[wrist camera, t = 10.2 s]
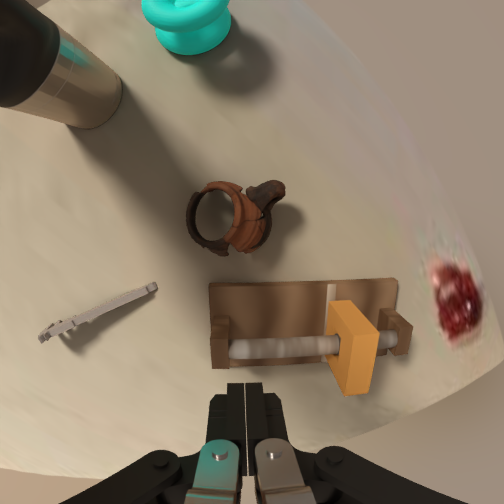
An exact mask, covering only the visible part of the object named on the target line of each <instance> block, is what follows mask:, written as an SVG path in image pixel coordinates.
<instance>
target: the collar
mask: <svg viewBox="0 0 504 504" xmlns="http://www.w3.org/2000/svg"><path fill="white" fill-rule="evenodd" d="M336 333H338V335H339V336H340V338H341V342H340V350H339V355H336V354H330V355H325V357H326V359H327V362H328V364H329V366H330V368H331V370H332V372H333V374H334V376H335V378H336V380H337V382H338V385H339V387H340V389H341V391H342V393H343V395H344V396H350V395H357V394H364V393H368V391H369V386H370V382H371V377H372V372H373V367H374V362H375V357H376V352H377V346H378V340H379V334H380V333H379V332H378V330H377V329H376V328H375V327H374V326H373V325H372V324H371V323H370V321H369V320H368V319H367V318H366V317H365V316H364V315H363V314H362V313H361V311H360V310H359V309H358V308H357V307H356V306H355V305H354V304H353V303H352V301H351V300H340V301H329V304H328V316H327V327H326V335H335V334H336Z"/></svg>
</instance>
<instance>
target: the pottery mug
mask: <svg viewBox="0 0 504 504" xmlns="http://www.w3.org/2000/svg"><path fill="white" fill-rule="evenodd" d="M217 189H218V190H222V191H224V192H226V193H227V194H228V195H229V196H230V197H231V199H232V201H233V204H234V220H233V224H232V226H231V228H230V230H229V231H228V233H227V234H226V235H225V236H224V237H223V238H221V239H219V240H216V241H209V240H206V239H204V238H203V237H202V236H201V235H200V234H199V232H198V230H197V228H196V222H195V215H196V209H197V206H198V204H199V202H200V200H201V199H202V197H203V196H204V195H205V194H206V193H208V192H212V191H213V190H217ZM242 189H243V188H242V187H240V186H238V185H236V184H233V183H230V182H223V181H218V182H211V183H208V184H207V186H206V187H205V188H204V189H203V190H202V191H201V192H200V193H199V192H195V193H194V194H193V196H192V197H191V199H190V202H189V204H188V207H187V212H186V218H187V219H186V222H187V227H188V231H189V234H190V235H191V237H192V239H193V240H194V241H195V242H196V243H198V244H199V245H201V246H202V247H203V248H204V247H206V248H208V249H209V250H210V251H211V252H213V253H216V254H217V255H219V256H228V255H229V253H228V252H227V250H228V246H229V244H230V243H231V244H232V246H233V247H235V249H236V250H237V251H238V252H244V253H245V254H246V253H250V252H253V251H254V250H256V249H257V248H259V247H260V246H261V245H262V244H263V243H264V242H265V241H266V240H267V238H268V236H269V234H270V231H271V227H272V218H271V209H272V207H273V206H274V204H275V203H277V202H278V201H279V200H281V199H282V198H283V197H284V196H285V185H284V184H283V183H282V182H280V181H277V180H270V181H267V182H265V183H262V184H261V185H259V186H257V187H252V186H250V187H249V188H247V189H246V195H247V196H246V195H245V194H242V193H241V191H242ZM261 214H263V217H261ZM260 217H261V218H260Z"/></svg>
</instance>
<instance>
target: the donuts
mask: <svg viewBox="0 0 504 504" xmlns="http://www.w3.org/2000/svg"><path fill="white" fill-rule="evenodd" d="M228 3H229V0H142V11H143V14H144V16H145V18H146V19H147V21H148V22H149V23H150V24H152V25H153V26H154V27H155V31H156V36H157V38H158V40H159V42H160V43H161V44H162V45H163V46H164V47H165V48H166V49H168V50H169V51H171V52H174V53H177V54H181V55H195V54H200V53H204V52H207V51H209V50H211V49H213V48H214V47H216V46H217V45H219V44H220V43H221V42H222V41H223V40H224V38H225V37H226V36H227V34H228V32H229V30H230V26H231V15H230V12H229V10H228V8H227V5H228Z"/></svg>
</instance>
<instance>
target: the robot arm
mask: <svg viewBox="0 0 504 504" xmlns="http://www.w3.org/2000/svg"><path fill="white" fill-rule="evenodd" d="M121 96H122V84H121V80H120V78H119V76H118V75H117V74H116V73H115V72H114V71H113V70H112V69H111V68H110V67H109V66H107V65H106V64H105V63H104V62H103V61H102V60H100V59H99V58H98V57H97V56H95V55H94V54H93V53H92V52H91V51H89V50H88V49H87V48H86V47H84V46H83V45H82V44H81V43H80V42H78V41H77V40H76V39H75V38H73V37H72V36H71V35H70V34H68V33H67V32H66V31H64V30H63V29H62V28H61V27H59V26H58V25H57V24H55V23H54V22H53V21H52V20H50V19H49V18H48V17H46V16H45V15H44V14H42V13H41V12H40V11H38V10H37V9H36V8H34V7H33V6H32V5H30V4H29V3H28V2H27V1H26V0H0V107H4V108H8V109H12V110H16V111H20V112H24V113H28V114H32V115H36V116H39V117H43V118H47V119H50V120H54V121H58V122H61V123H65V124H68V125H71V126H75V127H78V128H82V129H90V128H94V127H97V126H99V125H101V124H103V123H104V122H106V121H107V120H108V119H109V118H110V117H111V116H112V115H113V114H114V112H115V111H116V109H117V107H118V106H119V103H120V100H121ZM245 390H246V422H245V397H244V383H227V394H215V396H214V397H213V398H212V400H211V401H210V406H209V416H208V425H207V435H206V443H205V445H204V446H203V447H202V448H201V450H200V451H199V452H197V453H195V454H193V455H189V456H184V457H178V456H177V455H176V454H174V453H173V452H170V451H167V450H156V451H152V452H150V453H148V454H147V455H145V456H143V457H142V458H140V459H139V460H137V461H135V462H134V463H132V464H130V465H129V466H127V467H125V468H124V469H122V470H120V471H119V472H117V473H115V474H113V475H112V476H110V477H108V478H107V479H105V480H103V481H101V482H99V483H98V484H96V485H94V486H92V487H90V488H88V489H87V490H85V491H83V492H81V493H79V494H77V495H75V496H73V497H71V498H70V499H68V500H65V501H63V502H61V503H59V504H240V501H241V500H240V499H241V489H242V476H247V448H246V426H247V447H248V467H249V476H254V480H255V495H256V501H257V504H468V503H465V502H462V501H460V500H457V499H454V498H451V497H449V496H446V495H444V494H441V493H439V492H436V491H434V490H431V489H429V488H427V487H424V486H422V485H419V484H417V483H415V482H413V481H410V480H408V479H406V478H404V477H401V476H399V475H397V474H395V473H393V472H391V471H389V470H386V469H384V468H382V467H380V466H378V465H376V464H374V463H372V462H370V461H368V460H366V459H364V458H363V457H361V456H359V455H357V454H355V453H353V452H351V451H349V450H347V449H345V448H343V447H339V446H329V447H325V448H323V449H321V450H320V451H319V452H318V453H317V454H315V453H308V452H303V451H300V450H297V449H296V448H294V447H293V446H292V445H291V444H290V442H289V440H288V435H287V430H286V425H285V420H284V416H283V410H282V405H281V400H280V399H279V398H278V396H277V395H276V394H275V393H263V387H262V382H261V383H245Z"/></svg>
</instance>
